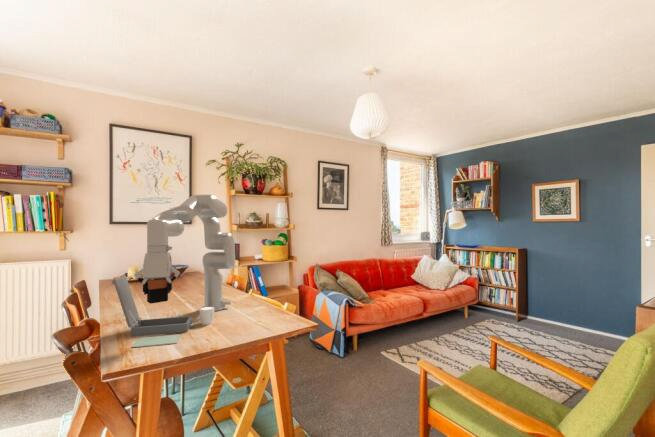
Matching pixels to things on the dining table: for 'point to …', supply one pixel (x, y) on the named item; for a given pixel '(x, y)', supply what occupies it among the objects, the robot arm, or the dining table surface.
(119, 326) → the dining table surface
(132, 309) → the case lid
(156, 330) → the case
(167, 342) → the rubber mat
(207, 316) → the shot glass
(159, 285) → the battery
